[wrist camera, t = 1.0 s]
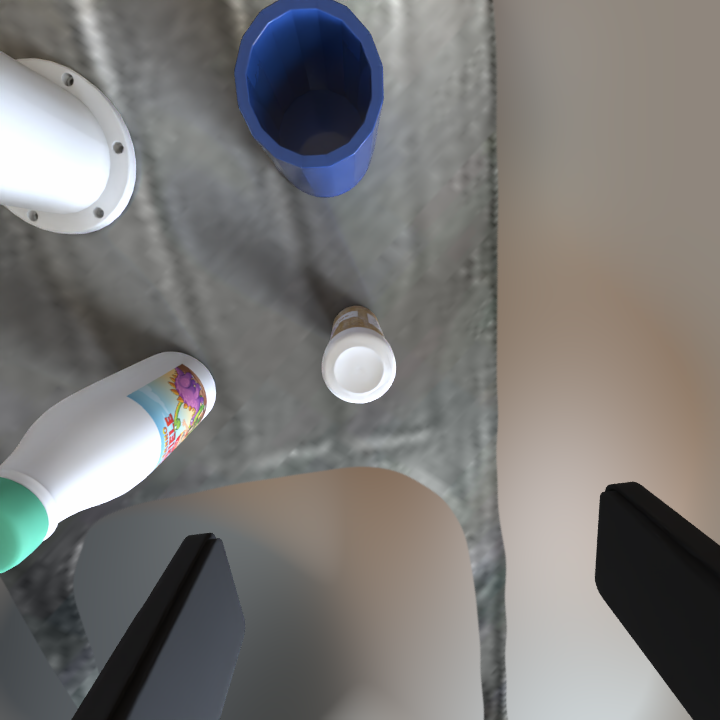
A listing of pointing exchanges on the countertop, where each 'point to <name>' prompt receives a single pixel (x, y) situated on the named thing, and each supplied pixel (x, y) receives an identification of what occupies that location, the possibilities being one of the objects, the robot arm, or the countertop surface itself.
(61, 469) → the milk bottle
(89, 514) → the countertop surface
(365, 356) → the sprinkles bottle
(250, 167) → the countertop surface
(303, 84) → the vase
